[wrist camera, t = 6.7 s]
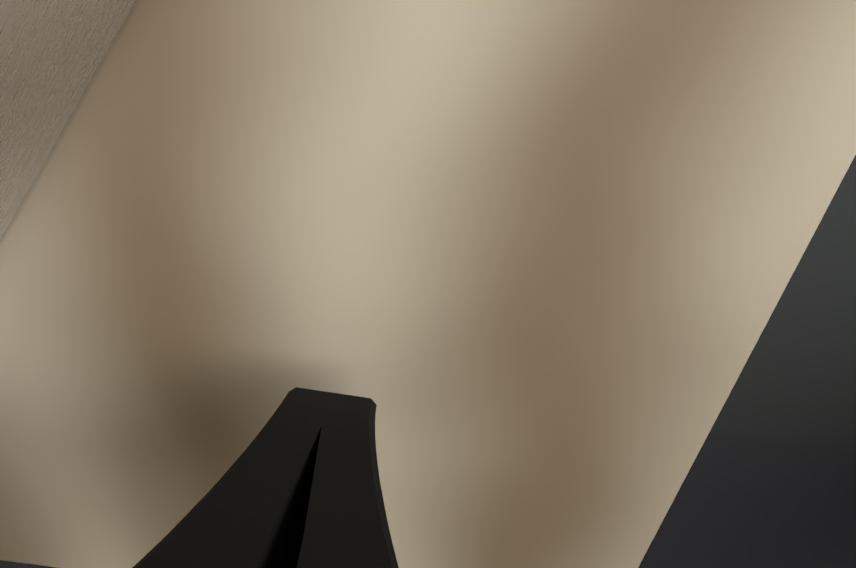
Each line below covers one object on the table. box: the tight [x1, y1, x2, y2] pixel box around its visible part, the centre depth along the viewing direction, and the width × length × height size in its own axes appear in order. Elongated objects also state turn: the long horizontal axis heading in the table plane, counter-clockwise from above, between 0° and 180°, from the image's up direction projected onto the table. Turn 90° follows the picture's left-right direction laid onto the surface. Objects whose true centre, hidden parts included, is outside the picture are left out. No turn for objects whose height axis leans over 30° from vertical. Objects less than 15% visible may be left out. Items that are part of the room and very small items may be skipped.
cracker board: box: [0, 0, 856, 568], centre depth 9 cm, size 18×25×1 cm
